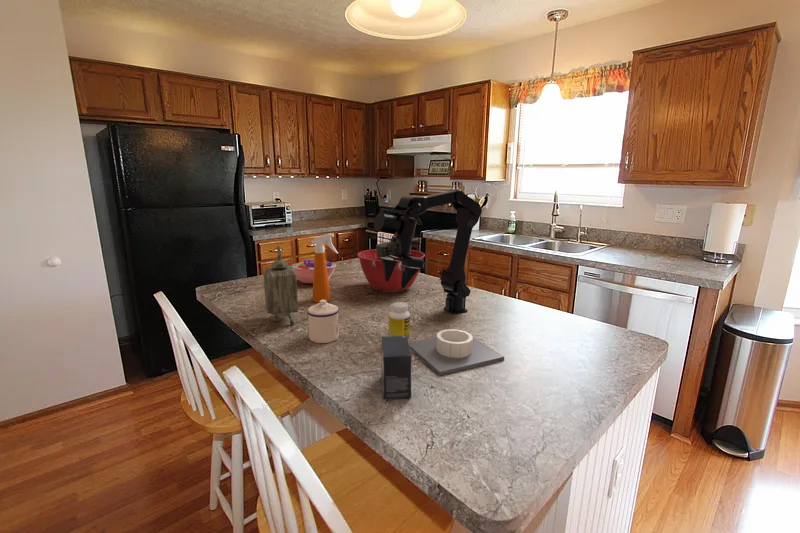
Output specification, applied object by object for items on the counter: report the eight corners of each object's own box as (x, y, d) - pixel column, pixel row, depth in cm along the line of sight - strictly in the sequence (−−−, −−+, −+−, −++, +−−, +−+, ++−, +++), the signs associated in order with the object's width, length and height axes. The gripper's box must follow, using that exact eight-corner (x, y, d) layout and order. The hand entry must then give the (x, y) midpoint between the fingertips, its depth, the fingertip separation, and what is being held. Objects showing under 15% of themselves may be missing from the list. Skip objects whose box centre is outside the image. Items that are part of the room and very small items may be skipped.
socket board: (464, 335, 117) (465, 319, 116) (504, 359, 102) (505, 342, 100) (406, 346, 109) (407, 330, 108) (439, 375, 93) (440, 356, 92)
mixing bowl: (350, 283, 173) (349, 249, 169) (407, 277, 184) (408, 245, 180) (370, 301, 147) (370, 262, 144) (435, 293, 158) (436, 257, 155)
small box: (380, 375, 93) (380, 335, 90) (407, 374, 93) (407, 334, 91) (382, 400, 83) (382, 355, 80) (412, 399, 83) (413, 354, 81)
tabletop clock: (299, 326, 122) (295, 249, 117) (269, 330, 119) (263, 251, 113) (293, 311, 135) (289, 242, 130) (266, 314, 132) (261, 243, 126)
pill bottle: (407, 345, 110) (408, 308, 107) (386, 343, 111) (386, 307, 108) (411, 336, 116) (412, 302, 113) (391, 334, 117) (391, 300, 114)
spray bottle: (336, 304, 144) (334, 234, 138) (309, 302, 146) (306, 233, 140) (342, 298, 151) (340, 232, 145) (316, 296, 153) (313, 231, 147)
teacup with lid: (344, 339, 113) (343, 302, 110) (314, 346, 108) (313, 307, 105) (328, 326, 123) (327, 291, 120) (301, 332, 118) (299, 296, 115)
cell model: (294, 278, 180) (293, 254, 177) (337, 277, 182) (337, 254, 180) (288, 288, 164) (287, 262, 161) (335, 287, 166) (335, 262, 163)
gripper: (367, 228, 123) (358, 275, 124) (400, 236, 108) (389, 289, 109) (395, 233, 129) (386, 278, 131) (430, 241, 114) (419, 292, 116)
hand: (394, 284), depth 121 cm, fingers open, 9 cm apart
